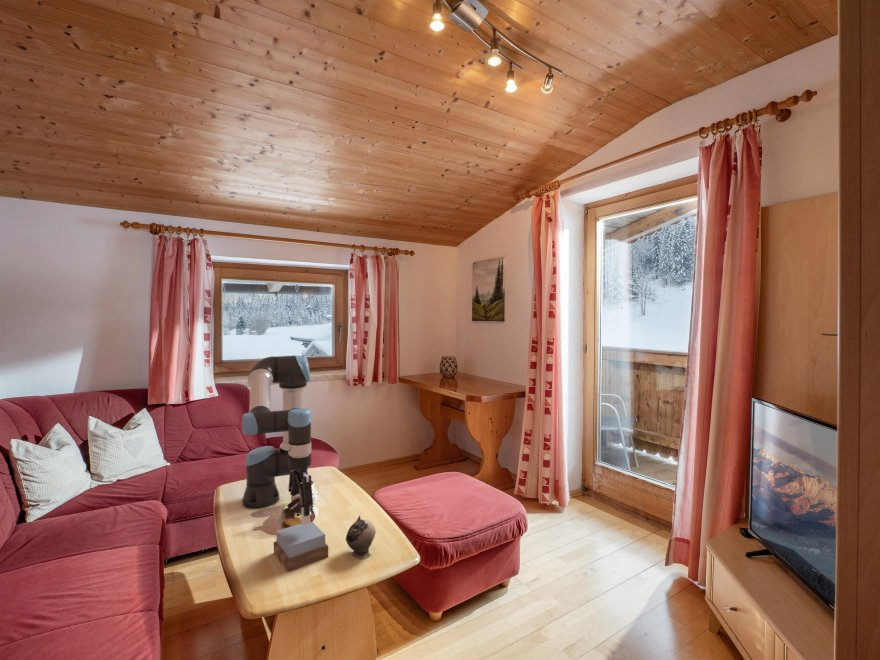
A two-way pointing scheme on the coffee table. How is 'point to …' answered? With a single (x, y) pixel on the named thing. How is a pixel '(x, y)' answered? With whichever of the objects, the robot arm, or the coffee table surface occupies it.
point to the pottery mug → (297, 509)
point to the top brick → (300, 539)
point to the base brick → (300, 557)
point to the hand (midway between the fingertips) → (300, 518)
